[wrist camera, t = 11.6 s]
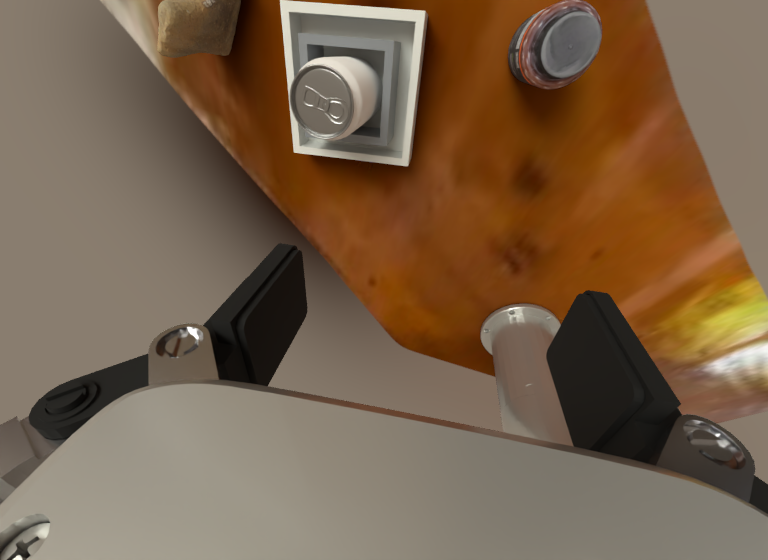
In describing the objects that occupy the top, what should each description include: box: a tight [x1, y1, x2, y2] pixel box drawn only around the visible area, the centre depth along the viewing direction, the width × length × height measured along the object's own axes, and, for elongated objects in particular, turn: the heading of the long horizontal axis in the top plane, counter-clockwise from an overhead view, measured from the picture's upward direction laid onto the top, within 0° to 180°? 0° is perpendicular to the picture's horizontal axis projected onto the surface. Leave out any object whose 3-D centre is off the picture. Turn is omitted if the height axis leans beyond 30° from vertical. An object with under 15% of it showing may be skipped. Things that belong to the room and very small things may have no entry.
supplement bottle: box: [508, 0, 602, 90], centre depth 28 cm, size 6×6×11 cm
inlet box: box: [280, 0, 428, 166], centre depth 35 cm, size 14×14×6 cm
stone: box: [157, 0, 241, 57], centre depth 31 cm, size 9×5×10 cm, turn 146°
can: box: [290, 56, 383, 140], centre depth 32 cm, size 6×6×12 cm
